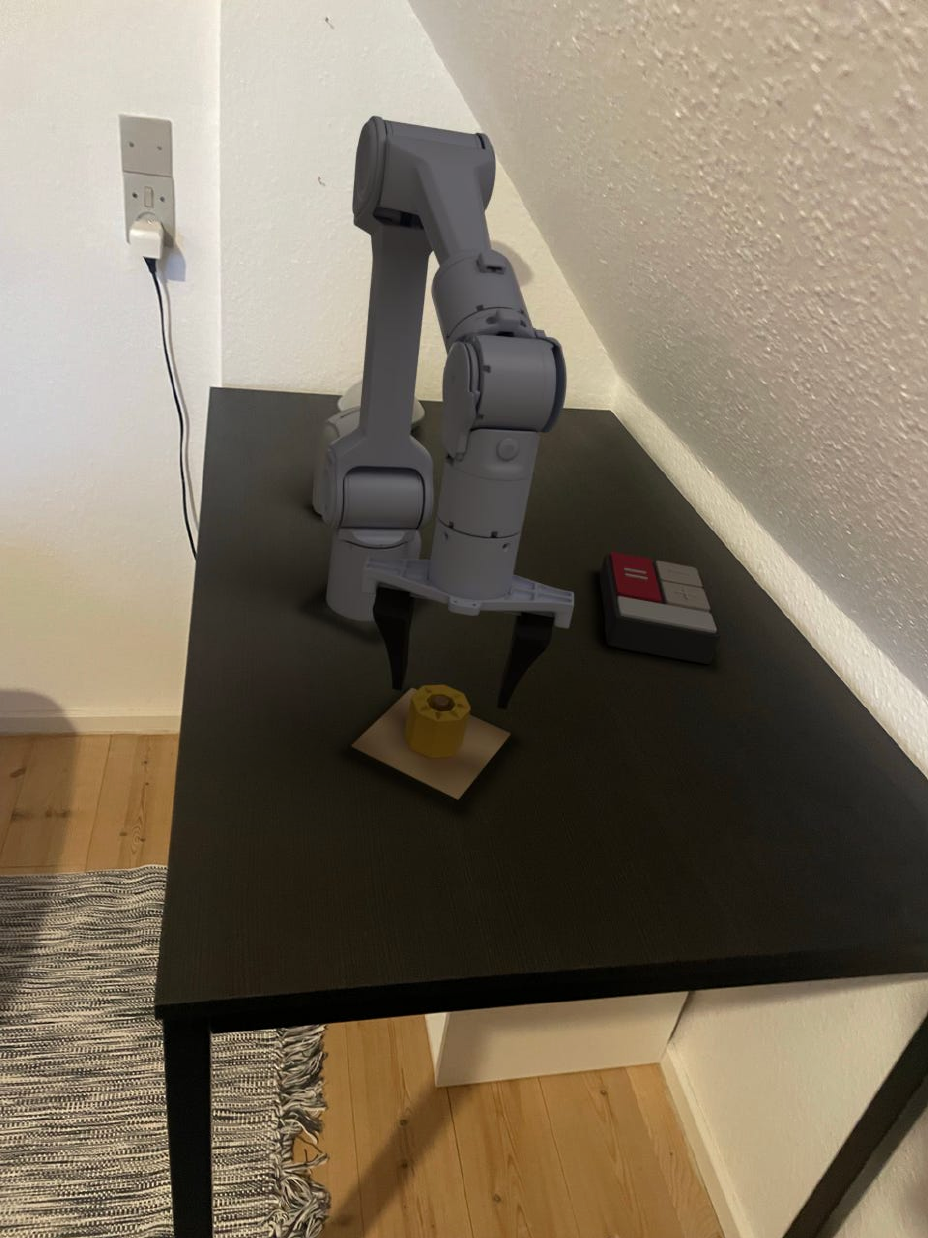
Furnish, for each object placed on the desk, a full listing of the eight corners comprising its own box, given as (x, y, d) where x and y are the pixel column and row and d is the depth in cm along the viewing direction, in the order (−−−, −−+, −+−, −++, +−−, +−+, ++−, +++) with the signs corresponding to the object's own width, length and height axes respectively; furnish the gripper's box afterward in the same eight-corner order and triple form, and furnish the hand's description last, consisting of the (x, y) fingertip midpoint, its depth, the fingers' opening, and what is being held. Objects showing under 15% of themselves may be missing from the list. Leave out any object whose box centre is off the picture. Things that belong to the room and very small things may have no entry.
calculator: (700, 564, 108) (724, 630, 95) (689, 597, 110) (711, 665, 97) (606, 546, 108) (617, 610, 95) (597, 579, 110) (606, 646, 97)
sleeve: (423, 714, 82) (430, 677, 79) (469, 736, 80) (478, 699, 78) (396, 742, 78) (402, 704, 76) (444, 766, 77) (452, 728, 74)
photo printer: (369, 488, 118) (381, 394, 111) (393, 502, 116) (407, 407, 109) (305, 507, 111) (314, 408, 104) (330, 523, 109) (340, 422, 102)
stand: (410, 694, 85) (418, 649, 82) (509, 740, 82) (521, 695, 79) (349, 753, 77) (356, 705, 74) (456, 806, 74) (467, 759, 71)
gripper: (360, 524, 59) (341, 704, 65) (589, 564, 59) (547, 741, 65) (379, 486, 65) (360, 653, 72) (586, 522, 65) (549, 687, 71)
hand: (450, 692), depth 69 cm, fingers open, 7 cm apart
